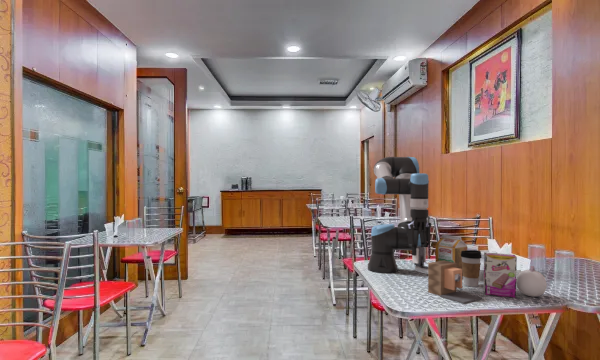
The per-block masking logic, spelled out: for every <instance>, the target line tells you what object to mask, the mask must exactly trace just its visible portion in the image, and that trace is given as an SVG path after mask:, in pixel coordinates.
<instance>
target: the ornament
mask: <svg viewBox="0 0 600 360" xmlns="http://www.w3.org/2000/svg"><path fill="white" fill-rule="evenodd" d="M547 286H548V284H547V280H546V278H545V276H544V274H543V273H540V272H539V271H537V270H536V269H535V266H534V265H531V266H530V269H524V270H522V271H520V272H519V273H518V274H517V275H516V288H517V290H518V291H519V292H521V293H522V294H523V295H525V296H528V297H532V298H533V297H534V298H535V297H540V296H542V295H544V293H545V292H547V291H546V290H547Z"/></svg>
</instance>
